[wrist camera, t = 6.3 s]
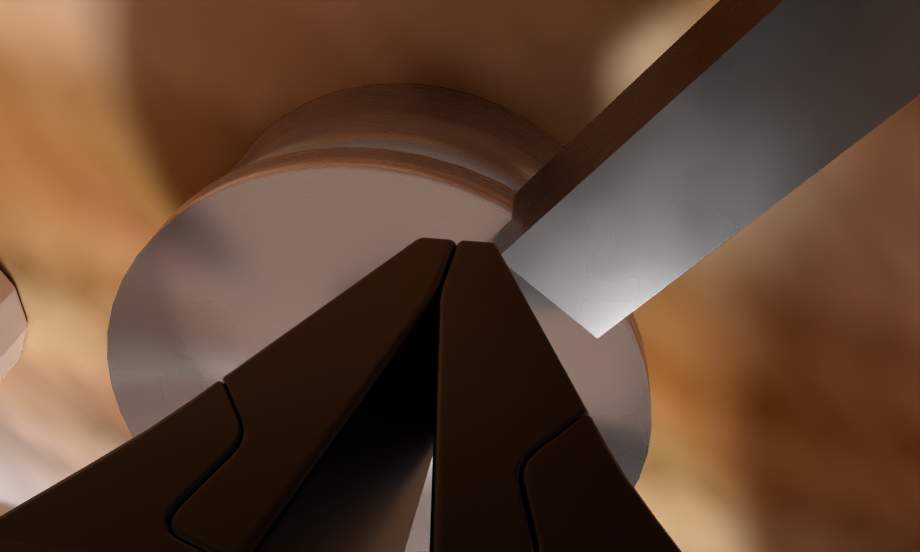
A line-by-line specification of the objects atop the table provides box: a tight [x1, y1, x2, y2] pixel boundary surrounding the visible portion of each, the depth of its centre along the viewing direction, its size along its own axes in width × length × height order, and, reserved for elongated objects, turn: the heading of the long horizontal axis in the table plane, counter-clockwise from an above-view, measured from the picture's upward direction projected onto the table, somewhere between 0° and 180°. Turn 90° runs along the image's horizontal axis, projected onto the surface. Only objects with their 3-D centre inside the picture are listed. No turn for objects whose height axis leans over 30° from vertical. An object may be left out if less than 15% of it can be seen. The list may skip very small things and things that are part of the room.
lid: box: [107, 0, 920, 552], centre depth 17 cm, size 21×13×2 cm, turn 140°
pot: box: [229, 84, 563, 191], centre depth 22 cm, size 12×23×4 cm, turn 135°
